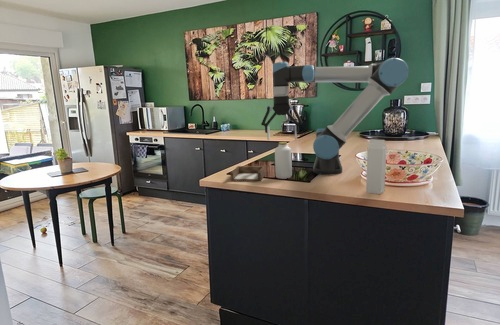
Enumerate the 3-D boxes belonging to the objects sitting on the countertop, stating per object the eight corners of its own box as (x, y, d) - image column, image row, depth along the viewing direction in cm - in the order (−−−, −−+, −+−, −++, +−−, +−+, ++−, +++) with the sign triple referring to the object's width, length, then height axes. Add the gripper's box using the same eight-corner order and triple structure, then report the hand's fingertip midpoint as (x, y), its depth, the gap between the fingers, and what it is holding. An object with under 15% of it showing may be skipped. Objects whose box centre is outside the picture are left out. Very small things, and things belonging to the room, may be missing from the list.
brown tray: (265, 174, 169) (265, 166, 168) (260, 181, 156) (260, 172, 155) (238, 174, 172) (237, 166, 171) (231, 181, 159) (230, 172, 158)
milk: (370, 188, 136) (371, 138, 132) (384, 190, 133) (387, 138, 128) (365, 192, 132) (367, 140, 127) (381, 194, 128) (383, 140, 123)
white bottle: (291, 179, 157) (290, 143, 153) (274, 179, 158) (273, 144, 154) (292, 175, 164) (291, 141, 161) (276, 175, 166) (275, 141, 162)
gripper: (307, 94, 153) (307, 137, 158) (257, 96, 159) (259, 138, 164) (306, 94, 146) (307, 140, 151) (254, 96, 152) (256, 140, 156)
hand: (282, 139), depth 157 cm, fingers open, 13 cm apart
